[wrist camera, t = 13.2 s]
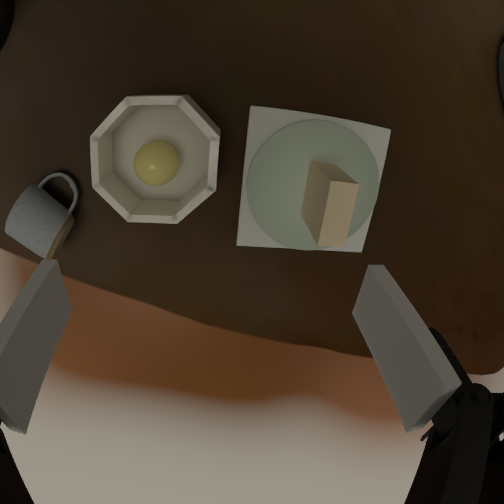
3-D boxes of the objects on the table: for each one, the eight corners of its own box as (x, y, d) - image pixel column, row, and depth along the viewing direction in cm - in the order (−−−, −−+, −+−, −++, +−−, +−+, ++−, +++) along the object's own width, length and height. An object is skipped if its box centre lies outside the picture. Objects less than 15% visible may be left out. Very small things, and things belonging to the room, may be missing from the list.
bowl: (109, 96, 31) (89, 99, 26) (223, 96, 33) (223, 97, 27) (111, 202, 38) (95, 221, 32) (215, 205, 39) (214, 226, 34)
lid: (253, 110, 33) (263, 118, 25) (386, 132, 35) (426, 148, 27) (240, 242, 41) (245, 283, 33) (359, 249, 43) (385, 286, 36)
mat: (250, 105, 33) (250, 105, 33) (388, 128, 36) (391, 129, 35) (236, 242, 42) (236, 245, 42) (359, 249, 44) (361, 252, 44)
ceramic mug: (64, 246, 40) (42, 275, 33) (24, 216, 37) (-3, 240, 30) (95, 189, 37) (71, 212, 30) (50, 157, 34) (20, 173, 27)
